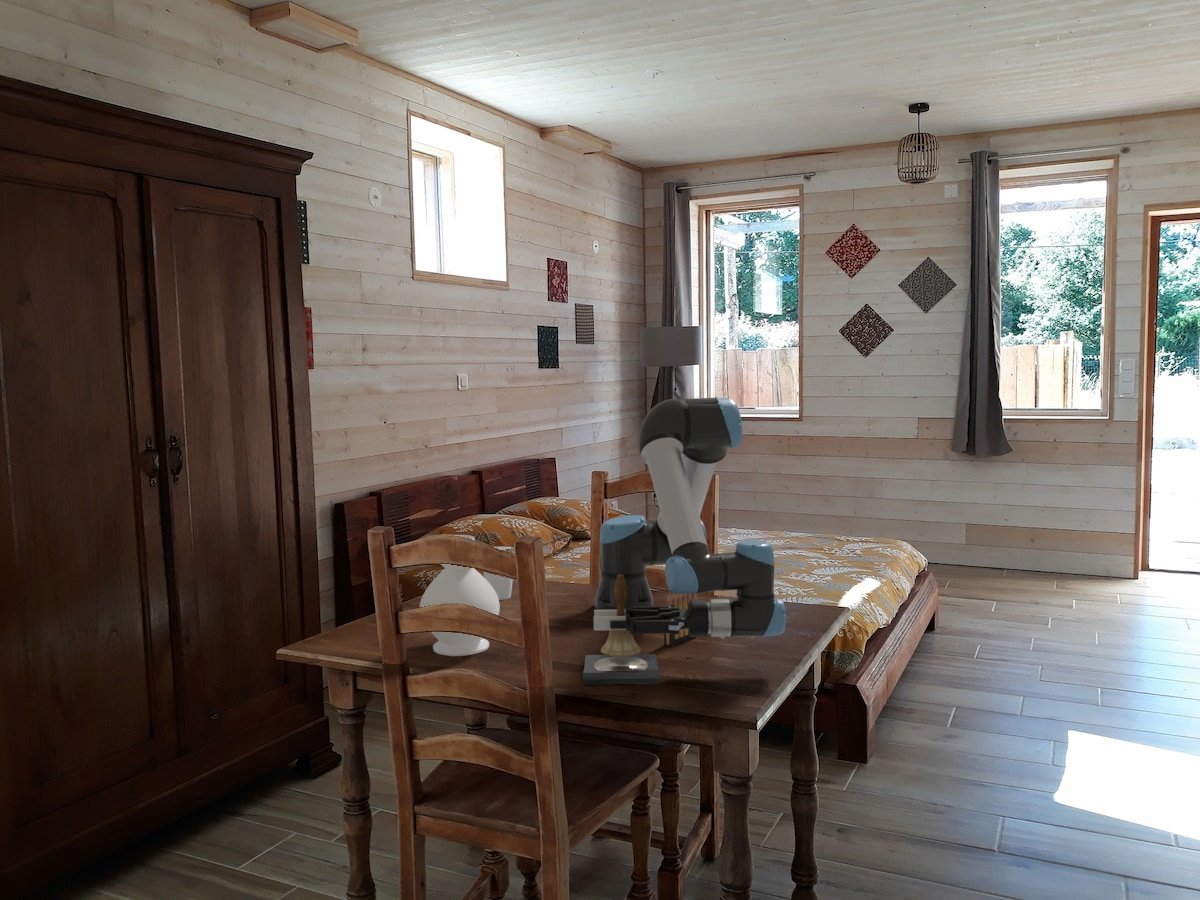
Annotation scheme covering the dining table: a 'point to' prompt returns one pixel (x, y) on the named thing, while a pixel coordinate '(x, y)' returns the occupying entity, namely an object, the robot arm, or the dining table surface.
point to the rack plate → (620, 670)
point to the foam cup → (500, 582)
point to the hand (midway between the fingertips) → (594, 620)
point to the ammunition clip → (682, 604)
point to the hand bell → (620, 640)
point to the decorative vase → (461, 589)
